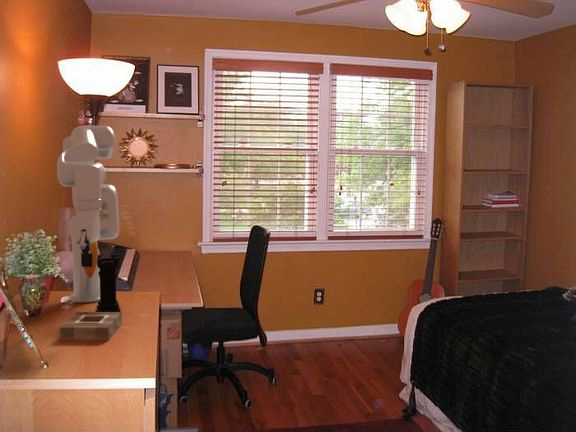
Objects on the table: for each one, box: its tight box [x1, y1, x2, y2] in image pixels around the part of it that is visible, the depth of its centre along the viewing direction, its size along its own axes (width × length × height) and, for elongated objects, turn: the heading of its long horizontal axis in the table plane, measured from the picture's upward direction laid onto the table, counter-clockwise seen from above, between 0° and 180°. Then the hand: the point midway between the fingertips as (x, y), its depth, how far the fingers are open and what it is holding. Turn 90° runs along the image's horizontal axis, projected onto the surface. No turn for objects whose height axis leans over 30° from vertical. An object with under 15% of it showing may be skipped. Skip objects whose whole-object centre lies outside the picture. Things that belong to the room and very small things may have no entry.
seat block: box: [59, 311, 123, 342], centre depth 187 cm, size 16×14×4 cm
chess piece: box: [94, 253, 123, 317], centre depth 205 cm, size 8×8×20 cm
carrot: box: [84, 241, 99, 278], centre depth 185 cm, size 5×5×15 cm
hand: (89, 264), depth 185 cm, fingers closed on carrot, 4 cm apart
